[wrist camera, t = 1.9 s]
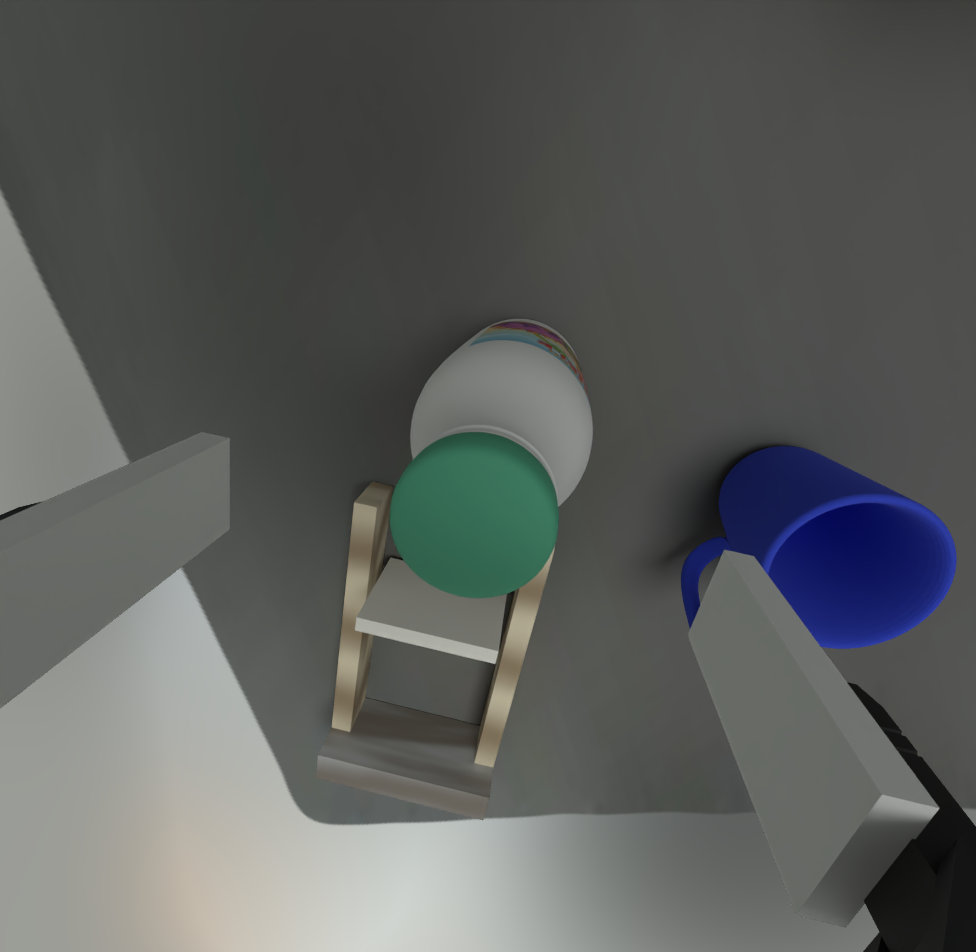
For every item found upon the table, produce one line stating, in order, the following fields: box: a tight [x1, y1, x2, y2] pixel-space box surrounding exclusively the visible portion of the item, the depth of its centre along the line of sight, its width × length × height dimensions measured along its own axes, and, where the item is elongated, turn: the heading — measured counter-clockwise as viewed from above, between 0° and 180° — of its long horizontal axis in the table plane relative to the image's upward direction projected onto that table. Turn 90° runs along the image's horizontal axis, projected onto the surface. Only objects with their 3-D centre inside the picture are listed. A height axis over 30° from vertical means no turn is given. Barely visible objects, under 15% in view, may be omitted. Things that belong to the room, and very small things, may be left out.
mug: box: [681, 446, 956, 649], centre depth 28 cm, size 8×12×10 cm
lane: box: [316, 482, 555, 820], centre depth 37 cm, size 22×13×6 cm, turn 169°
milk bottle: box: [390, 319, 593, 598], centre depth 23 cm, size 8×8×20 cm
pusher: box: [355, 558, 507, 664], centre depth 35 cm, size 4×9×7 cm, turn 79°
